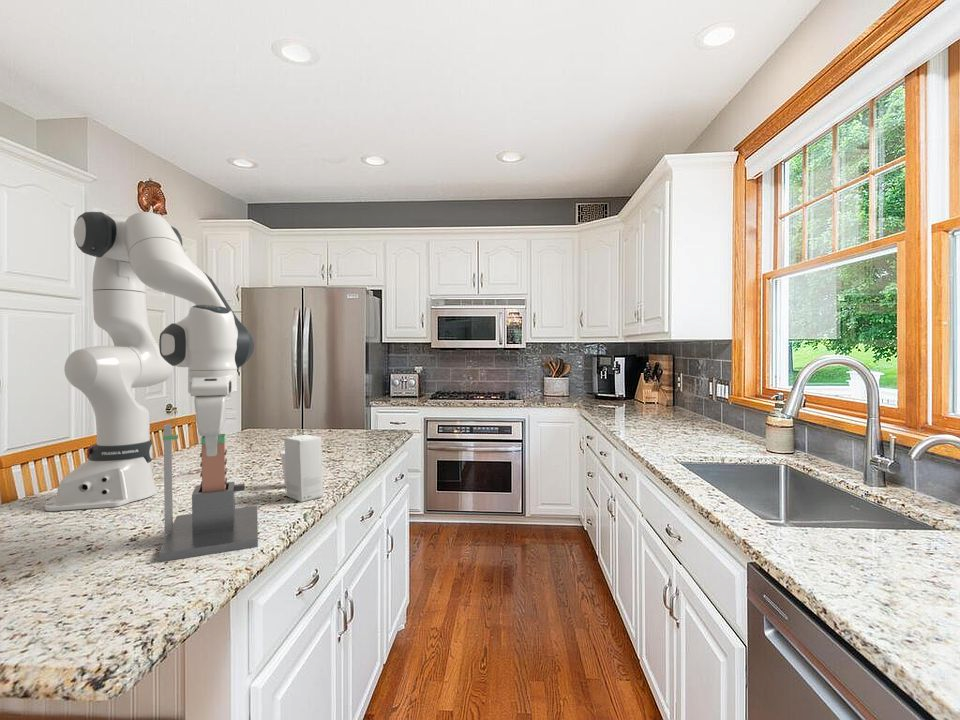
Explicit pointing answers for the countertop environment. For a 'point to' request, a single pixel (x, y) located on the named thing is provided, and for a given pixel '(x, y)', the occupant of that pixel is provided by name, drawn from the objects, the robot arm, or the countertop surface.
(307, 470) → the skincare box
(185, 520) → the stand
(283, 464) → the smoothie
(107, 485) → the robot arm
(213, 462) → the column
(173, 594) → the countertop surface
